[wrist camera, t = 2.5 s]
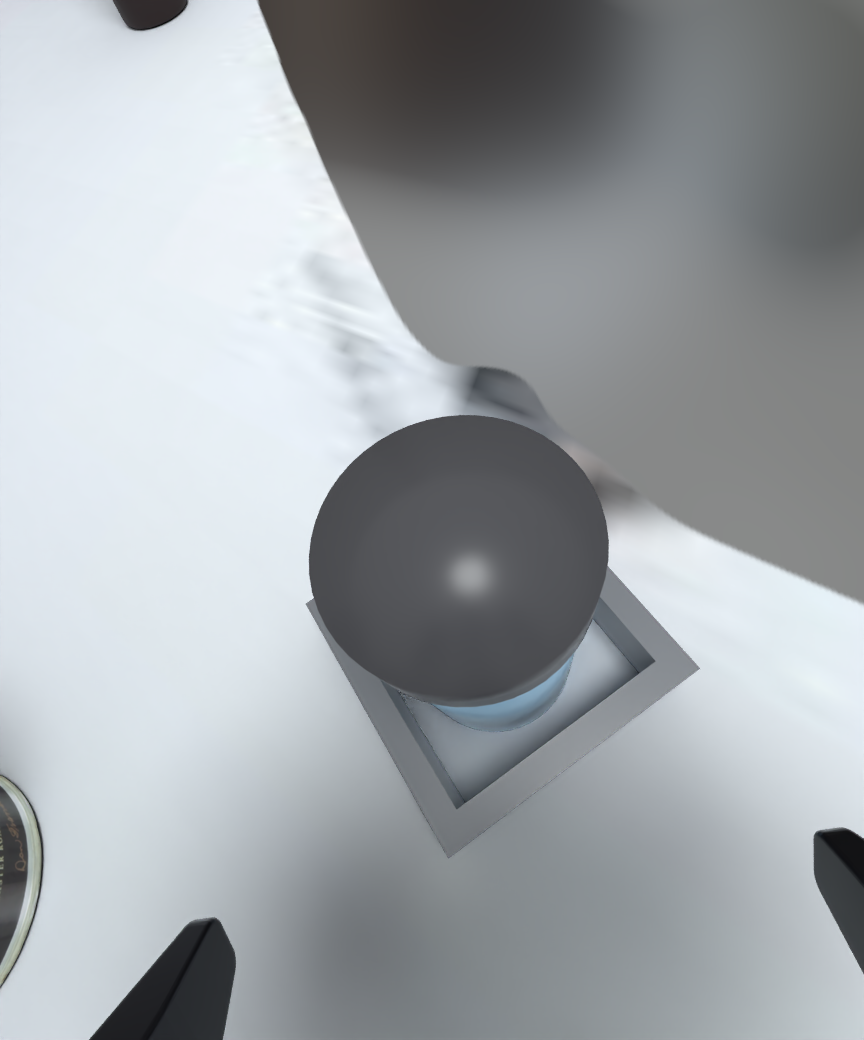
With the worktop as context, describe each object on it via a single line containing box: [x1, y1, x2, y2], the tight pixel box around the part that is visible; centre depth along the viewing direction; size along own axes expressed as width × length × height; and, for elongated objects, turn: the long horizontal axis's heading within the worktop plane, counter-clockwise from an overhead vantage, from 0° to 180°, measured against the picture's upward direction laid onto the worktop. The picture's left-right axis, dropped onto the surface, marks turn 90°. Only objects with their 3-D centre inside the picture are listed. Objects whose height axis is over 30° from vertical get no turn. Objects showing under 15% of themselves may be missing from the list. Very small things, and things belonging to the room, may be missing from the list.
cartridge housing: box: [306, 566, 700, 858], centre depth 22 cm, size 10×10×3 cm
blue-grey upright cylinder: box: [309, 415, 609, 732], centre depth 18 cm, size 7×7×12 cm
